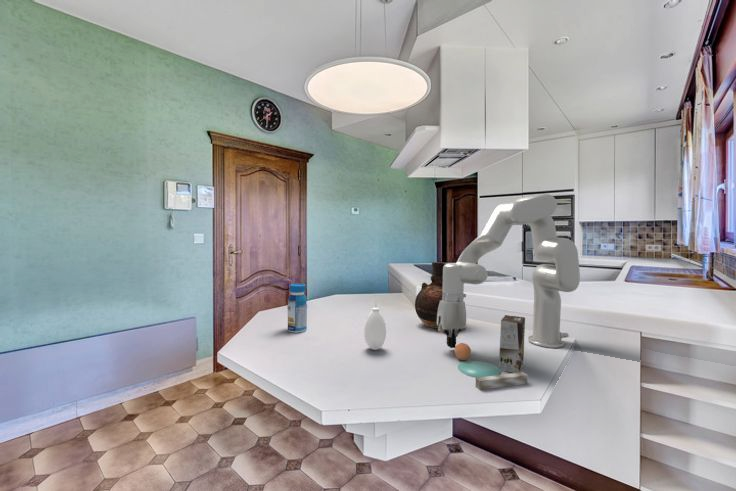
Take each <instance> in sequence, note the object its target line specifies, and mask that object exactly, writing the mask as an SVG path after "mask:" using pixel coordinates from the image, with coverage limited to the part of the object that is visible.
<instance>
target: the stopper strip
mask: <svg viewBox="0 0 736 491" xmlns="http://www.w3.org/2000/svg"><path fill="white" fill-rule="evenodd" d="M526 384H528V374H527V373H524V372H523V371H521V372H520V373H512V372H511V373H505V374H500V375H496V376H487V377H479V378H477V377H475V388H477V389H478V390H479V391H480V390H481V391H482V390H489V389H495V388H504V387H511V386H517V385H518V386H519V385H526Z"/></svg>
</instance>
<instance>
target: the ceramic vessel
mask: <svg viewBox="0 0 736 491" xmlns="http://www.w3.org/2000/svg"><path fill="white" fill-rule="evenodd" d="M445 264H448V263H447V262H436V261H433V262H432V263H431V267H432V275H431V276H430V281H431V282H430V283H426V282H422V284H421V289H420V290H419V292H418V293H417V295H416V296H415V301H414V308H415V309H414V310H415V313H416V315H417V317H418V318H419V320H420V321H421V322H422V323H423V324H424V325H425V326H426V327H429V328H432V329H438V327H439V326H437V313H438V307H439V303H440V300H442V287H443V267H444V265H445Z"/></svg>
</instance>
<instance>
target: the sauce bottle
mask: <svg viewBox="0 0 736 491" xmlns="http://www.w3.org/2000/svg"><path fill="white" fill-rule="evenodd" d="M363 334H364V340H365V343H366V345H367V346H368V348H370V349H371V350H373V351H377V350H380V348H382V347H383V346H384V344H385V341H386V338H387V336H386V335H387V326H386V323H385V319H384V316H383V314H382V312H381V310H380V308H379V307H377V301H375V303H374V307H372V308H371V311H370V312H369V314H368V316H367V318H366V321H365V323H364V333H363Z"/></svg>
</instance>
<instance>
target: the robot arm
mask: <svg viewBox="0 0 736 491" xmlns="http://www.w3.org/2000/svg"><path fill="white" fill-rule="evenodd" d="M557 207H558V201H557V199H556V198H555V197H554V196H553V195H551V194H548V193H543V194H542V193H541V194H535V195H526V196H522V197H519V198H517V199H516V200H515V201H510V202H503V203H502V202H501V203H500V204H498V205H497V206H496V207H495V208H494V209H493V211H492V212H491V215H490V216H489V218H488V220H487V221H486V224H485V225H484V227H483V229H482V230H481V232H480V234H479V236H477V237H476V238H474V240H473V241H471V242H470V244H469V245H467V247H465V248H464V250H463V251H462V252H461V254H460V256H459V257H458V259H457V260H456V262H455V263H447V264H445V265H444V267H443V287H442V300H440V303H439V307H438V313H437V326H439V327H438V328H437V331H438V332H439V333H444V334H445V336H446V345H447V347H448V348H450V349H455V347H456V346H457V338H458V336H459V334H460V333H461V332H464V331H466V326H467V308H466V303H465V302H466V301H464V298H467V295H466V293H464V288H465V286H464V285H465V284H470V285H481V284H483V283H484V282H486V281H487V279H488V276H489V274H488V271H487V268H486V267H485V266H483V265H481V264H479V263H478V261H479V260H480V259H481V258H482V257H484V255H486V254H488V253H490V252H493V251H495V250H497V249H498V248H500V247H501V246H502V244H503V243H504V241H505V239H506V237H507V235H508V233H509V232H510V230H511V229H512V227H513V226H523V225H527V224H528V225H529V227H530V232H531V237H532V238H531V239H532V248H533V254H534V257H535V258H536V259H537V260H539V261H542V262H548V263H542V264H539V265H537V266H536V267H535V268H534V269H533V271H532V274H531V277H532V278H531V279H532V286H533V318H532V320H533V321H532V335H529V336H528V337H527V340H528V342H529V343H531V344H533V345H535V346H539V347H543V348H550V349H553V348H554V349H558V348H563V347H564V346H565V344H564V341H563V340H562V339H564V338H566V339H567V338H569V337H570V336H569V333H568V332H561V331H560V329H561V309H562V298H561V294H560V292H563V293H572V292H574V291H576V290H577V288H579V285H580V282H581V272H580V271H581V270H580V263H579V262H580V261H579V252H578V248H577V245H576V244H575V243H574V242H573V240H571V239H570V238H566V237H558V233H557V230H556V224H555V221H554V219H553V217H552V215H554V213H555V212H556V211H557ZM549 263H554V264H549Z"/></svg>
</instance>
